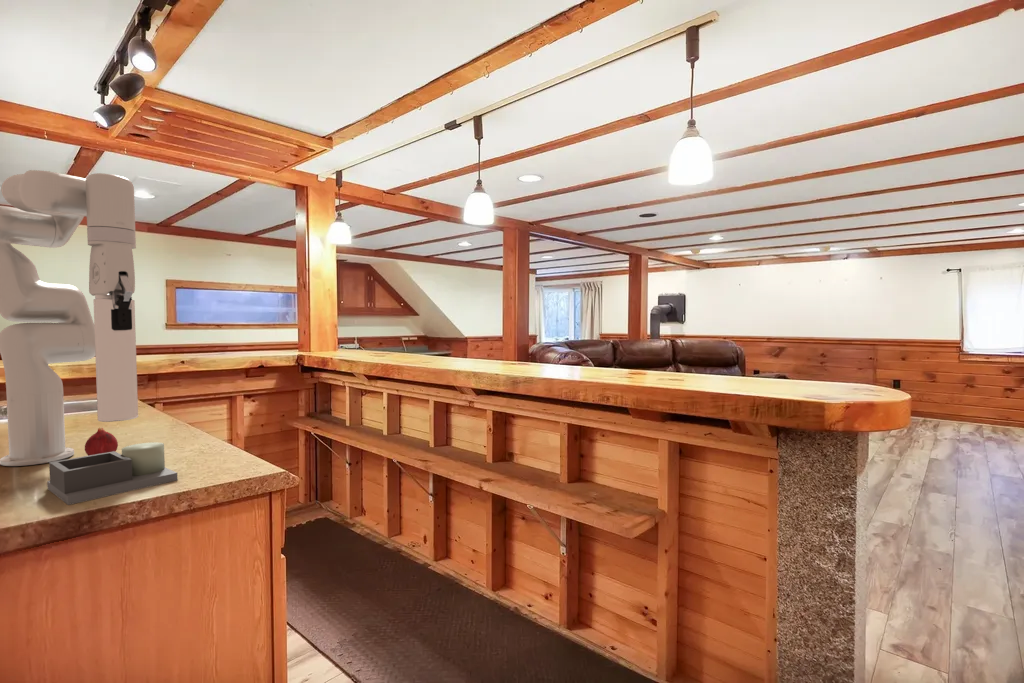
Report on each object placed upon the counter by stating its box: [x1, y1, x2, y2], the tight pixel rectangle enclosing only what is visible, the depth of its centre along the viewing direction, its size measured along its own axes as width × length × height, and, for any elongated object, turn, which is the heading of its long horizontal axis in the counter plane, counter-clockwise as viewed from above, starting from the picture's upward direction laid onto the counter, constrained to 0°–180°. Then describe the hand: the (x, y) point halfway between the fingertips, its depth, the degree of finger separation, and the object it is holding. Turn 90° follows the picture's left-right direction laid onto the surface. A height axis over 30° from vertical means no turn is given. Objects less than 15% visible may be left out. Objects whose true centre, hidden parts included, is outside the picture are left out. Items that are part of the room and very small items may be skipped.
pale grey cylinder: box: [93, 295, 139, 423], centre depth 101 cm, size 6×6×25 cm
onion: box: [84, 426, 119, 456], centre depth 114 cm, size 6×6×8 cm
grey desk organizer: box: [46, 441, 178, 506], centre depth 99 cm, size 14×17×6 cm
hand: (115, 328), depth 101 cm, fingers closed on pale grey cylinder, 6 cm apart
